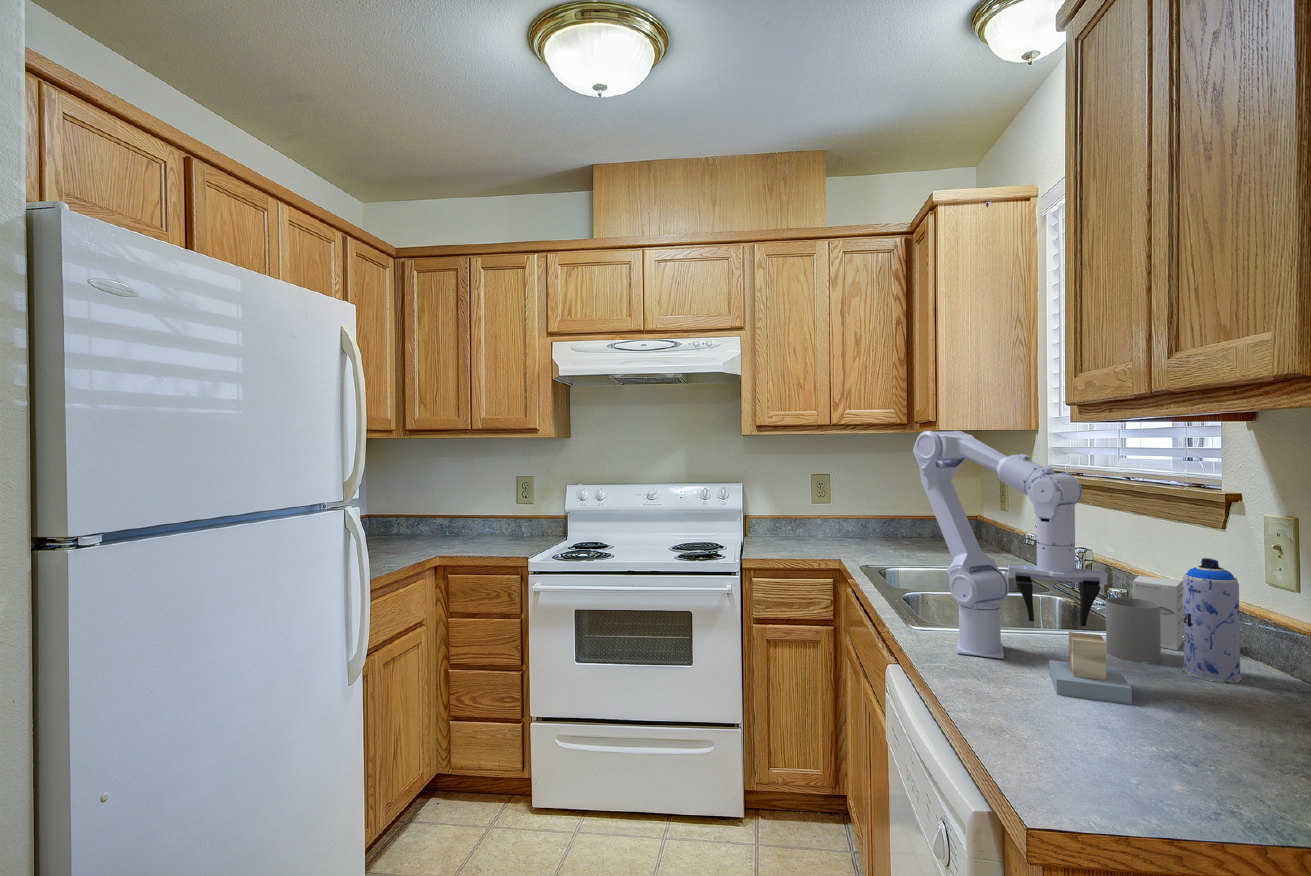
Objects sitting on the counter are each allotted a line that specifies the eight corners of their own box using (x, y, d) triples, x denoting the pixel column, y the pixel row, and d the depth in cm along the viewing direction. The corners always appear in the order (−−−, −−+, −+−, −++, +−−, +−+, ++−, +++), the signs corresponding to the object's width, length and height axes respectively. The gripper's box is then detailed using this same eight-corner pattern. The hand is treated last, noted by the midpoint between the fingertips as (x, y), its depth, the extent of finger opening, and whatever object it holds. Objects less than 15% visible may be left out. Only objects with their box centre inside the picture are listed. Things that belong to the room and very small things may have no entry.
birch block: (1069, 667, 112) (1068, 631, 112) (1100, 671, 110) (1100, 634, 110) (1073, 676, 108) (1072, 639, 108) (1106, 680, 106) (1105, 642, 106)
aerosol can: (1178, 664, 120) (1176, 554, 120) (1234, 671, 116) (1232, 557, 116) (1188, 678, 113) (1186, 561, 113) (1248, 686, 109) (1246, 564, 109)
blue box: (1049, 677, 116) (1049, 660, 116) (1118, 685, 112) (1117, 667, 112) (1056, 698, 107) (1056, 679, 107) (1132, 707, 103) (1131, 688, 103)
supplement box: (1131, 643, 133) (1130, 580, 133) (1139, 635, 138) (1138, 574, 138) (1178, 651, 127) (1177, 585, 127) (1184, 642, 133) (1183, 579, 133)
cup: (1163, 665, 120) (1162, 610, 120) (1107, 658, 124) (1107, 604, 124) (1157, 652, 127) (1156, 600, 127) (1105, 646, 131) (1104, 595, 131)
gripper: (1009, 544, 114) (1010, 623, 114) (1110, 549, 108) (1111, 633, 108) (1007, 538, 121) (1008, 613, 120) (1102, 543, 114) (1103, 622, 114)
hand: (1056, 622), depth 115 cm, fingers open, 7 cm apart
